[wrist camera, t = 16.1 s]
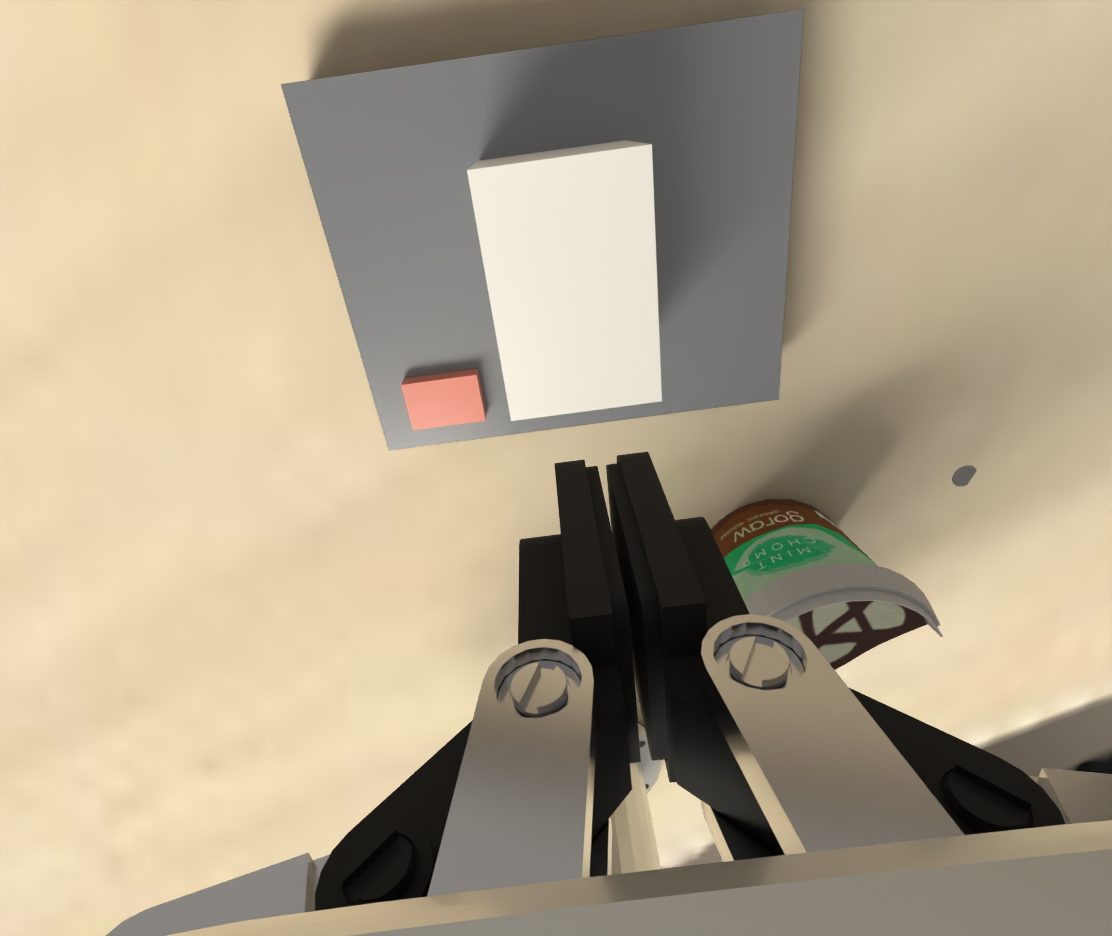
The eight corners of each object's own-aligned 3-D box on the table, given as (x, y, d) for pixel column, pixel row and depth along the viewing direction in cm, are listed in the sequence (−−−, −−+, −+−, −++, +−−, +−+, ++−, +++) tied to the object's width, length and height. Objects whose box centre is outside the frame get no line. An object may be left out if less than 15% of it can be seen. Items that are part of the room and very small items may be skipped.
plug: (627, 333, 32) (661, 401, 24) (514, 348, 32) (511, 421, 24) (614, 138, 27) (651, 144, 19) (483, 157, 27) (467, 170, 20)
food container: (825, 446, 36) (921, 549, 27) (857, 518, 39) (953, 632, 30) (642, 540, 39) (676, 660, 30) (684, 601, 42) (726, 727, 33)
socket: (756, 375, 34) (784, 405, 30) (400, 423, 34) (385, 458, 30) (772, 21, 26) (812, 5, 22) (307, 88, 26) (273, 83, 22)
